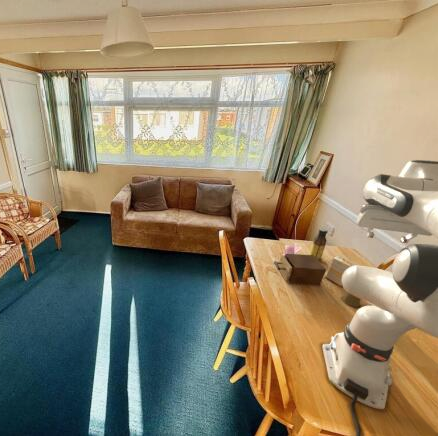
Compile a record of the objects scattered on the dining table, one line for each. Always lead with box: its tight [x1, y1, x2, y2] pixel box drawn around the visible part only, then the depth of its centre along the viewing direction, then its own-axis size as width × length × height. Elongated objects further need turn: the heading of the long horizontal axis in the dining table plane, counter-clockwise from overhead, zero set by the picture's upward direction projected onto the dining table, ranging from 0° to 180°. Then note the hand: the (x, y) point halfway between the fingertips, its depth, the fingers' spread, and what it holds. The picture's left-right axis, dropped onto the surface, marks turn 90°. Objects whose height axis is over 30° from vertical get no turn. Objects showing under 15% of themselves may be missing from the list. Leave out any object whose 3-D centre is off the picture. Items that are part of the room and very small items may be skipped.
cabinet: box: [284, 252, 327, 287], centre depth 123 cm, size 15×13×11 cm
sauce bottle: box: [308, 227, 328, 261], centre depth 137 cm, size 6×6×20 cm
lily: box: [281, 242, 303, 256], centre depth 140 cm, size 12×12×10 cm
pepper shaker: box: [342, 292, 362, 308], centre depth 106 cm, size 6×6×11 cm
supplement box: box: [325, 255, 357, 287], centre depth 119 cm, size 8×5×13 cm, turn 22°
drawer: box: [273, 254, 294, 282], centre depth 124 cm, size 18×11×9 cm, turn 82°
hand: (386, 239), depth 85 cm, fingers open, 8 cm apart
